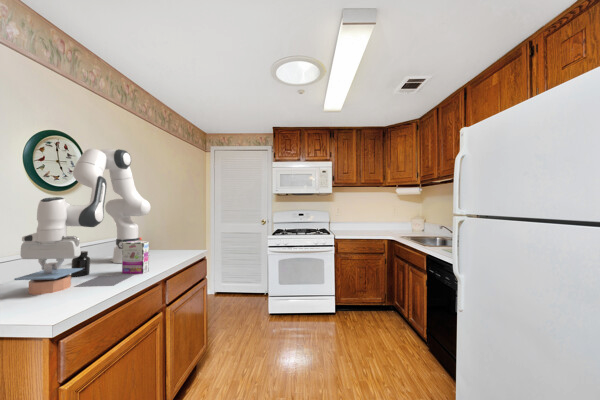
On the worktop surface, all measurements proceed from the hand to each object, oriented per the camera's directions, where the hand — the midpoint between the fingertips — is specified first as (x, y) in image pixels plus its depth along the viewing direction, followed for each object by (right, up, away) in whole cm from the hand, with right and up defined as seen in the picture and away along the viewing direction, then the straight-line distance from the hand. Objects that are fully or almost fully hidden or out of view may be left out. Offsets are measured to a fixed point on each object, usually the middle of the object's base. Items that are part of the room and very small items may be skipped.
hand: (51, 269), depth 102 cm
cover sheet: (0, -2, 0) cm, 2 cm away
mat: (+14, -9, +11) cm, 20 cm away
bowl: (0, -9, 0) cm, 9 cm away
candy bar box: (+18, -9, +25) cm, 32 cm away
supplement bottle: (-5, -9, +19) cm, 22 cm away
